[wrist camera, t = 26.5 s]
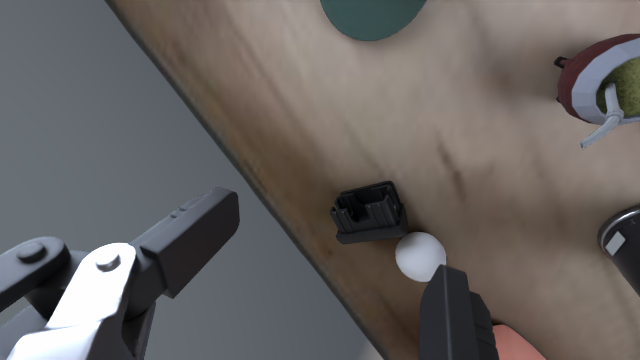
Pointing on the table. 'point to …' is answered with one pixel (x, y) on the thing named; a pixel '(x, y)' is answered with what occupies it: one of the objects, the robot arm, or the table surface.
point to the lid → (371, 16)
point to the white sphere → (419, 255)
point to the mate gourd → (602, 84)
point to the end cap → (369, 214)
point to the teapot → (513, 345)
